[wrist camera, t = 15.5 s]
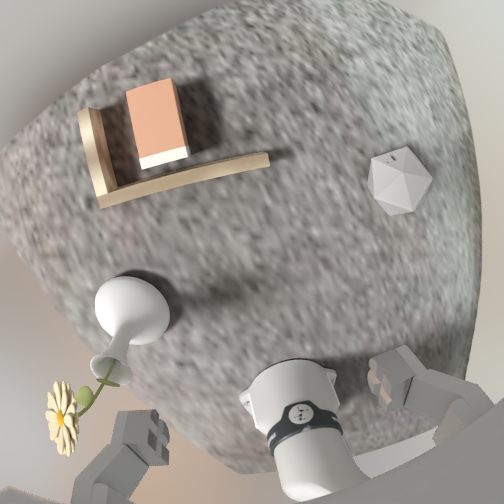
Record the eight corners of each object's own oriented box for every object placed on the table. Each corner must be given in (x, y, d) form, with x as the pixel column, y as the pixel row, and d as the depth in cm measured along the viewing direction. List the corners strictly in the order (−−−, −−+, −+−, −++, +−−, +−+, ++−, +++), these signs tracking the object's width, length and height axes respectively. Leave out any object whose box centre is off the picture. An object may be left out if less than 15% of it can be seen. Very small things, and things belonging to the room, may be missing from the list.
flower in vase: (147, 258, 37) (90, 410, 14) (184, 323, 42) (177, 478, 19) (77, 290, 37) (0, 418, 14) (115, 346, 42) (79, 480, 19)
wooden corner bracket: (263, 163, 35) (270, 166, 31) (110, 201, 34) (100, 209, 30) (245, 71, 30) (249, 63, 26) (89, 114, 29) (77, 112, 25)
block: (176, 86, 30) (171, 77, 25) (190, 154, 33) (187, 157, 28) (136, 97, 29) (125, 91, 25) (151, 165, 33) (141, 169, 28)
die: (408, 153, 37) (417, 129, 28) (430, 209, 36) (447, 198, 27) (359, 170, 41) (356, 149, 31) (380, 226, 40) (383, 220, 30)
